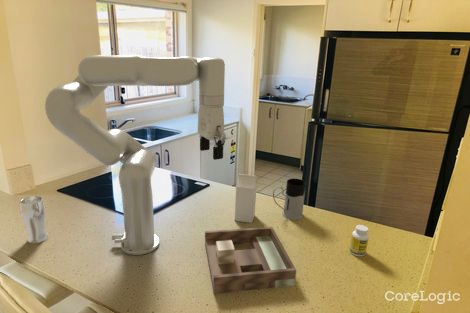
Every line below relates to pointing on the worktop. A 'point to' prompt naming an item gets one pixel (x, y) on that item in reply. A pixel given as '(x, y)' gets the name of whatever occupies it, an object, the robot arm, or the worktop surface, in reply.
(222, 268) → the box
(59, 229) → the worktop surface
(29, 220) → the beer glass
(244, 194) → the milk carton
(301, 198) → the white and black mug
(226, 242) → the block
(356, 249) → the supplement bottle
